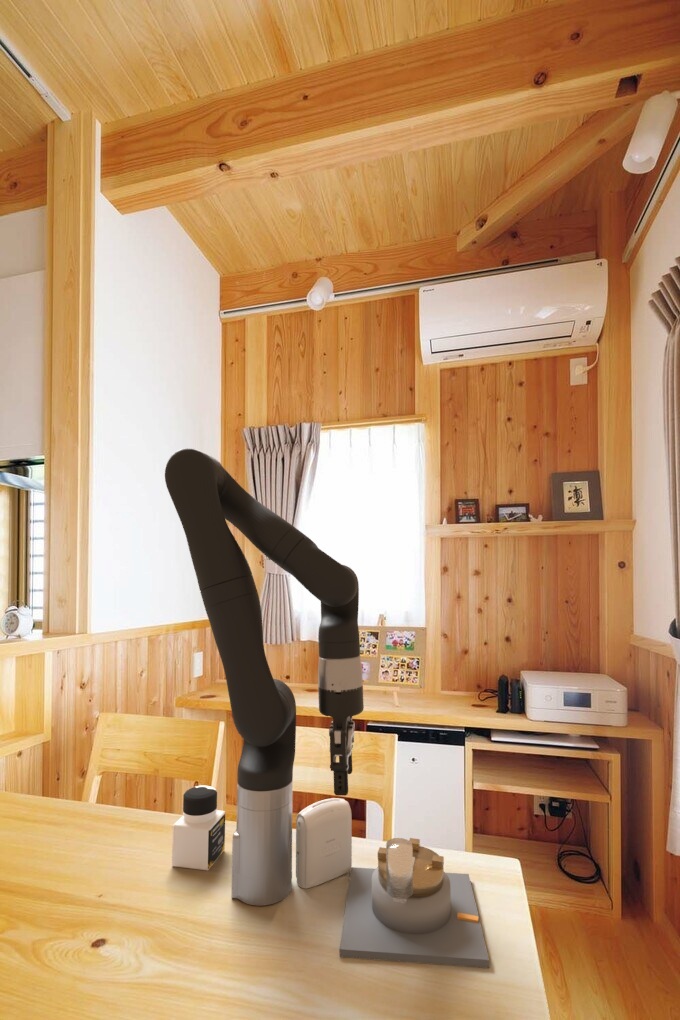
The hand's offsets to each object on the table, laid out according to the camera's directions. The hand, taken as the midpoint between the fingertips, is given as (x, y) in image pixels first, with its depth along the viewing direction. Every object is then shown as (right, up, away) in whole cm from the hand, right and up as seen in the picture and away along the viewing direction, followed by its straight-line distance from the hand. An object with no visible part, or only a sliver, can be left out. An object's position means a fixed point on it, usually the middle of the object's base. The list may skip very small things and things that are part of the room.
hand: (343, 783), depth 89 cm
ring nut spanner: (+9, -11, -10) cm, 17 cm away
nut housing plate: (+10, -17, -7) cm, 21 cm away
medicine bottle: (-26, -18, +9) cm, 33 cm away
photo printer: (-3, -18, +3) cm, 18 cm away
